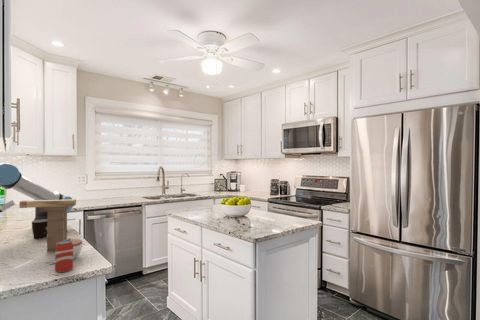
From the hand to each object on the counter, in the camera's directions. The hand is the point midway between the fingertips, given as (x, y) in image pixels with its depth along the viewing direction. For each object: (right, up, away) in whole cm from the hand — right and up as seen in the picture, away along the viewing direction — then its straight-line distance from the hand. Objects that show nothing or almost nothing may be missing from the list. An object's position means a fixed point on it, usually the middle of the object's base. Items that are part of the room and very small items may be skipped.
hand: (7, 204), depth 140 cm
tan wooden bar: (+17, -2, +5) cm, 18 cm away
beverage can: (+41, -25, -21) cm, 53 cm away
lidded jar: (+35, -25, -7) cm, 43 cm away
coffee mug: (-3, -25, +29) cm, 38 cm away
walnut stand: (+19, -24, +6) cm, 31 cm away
